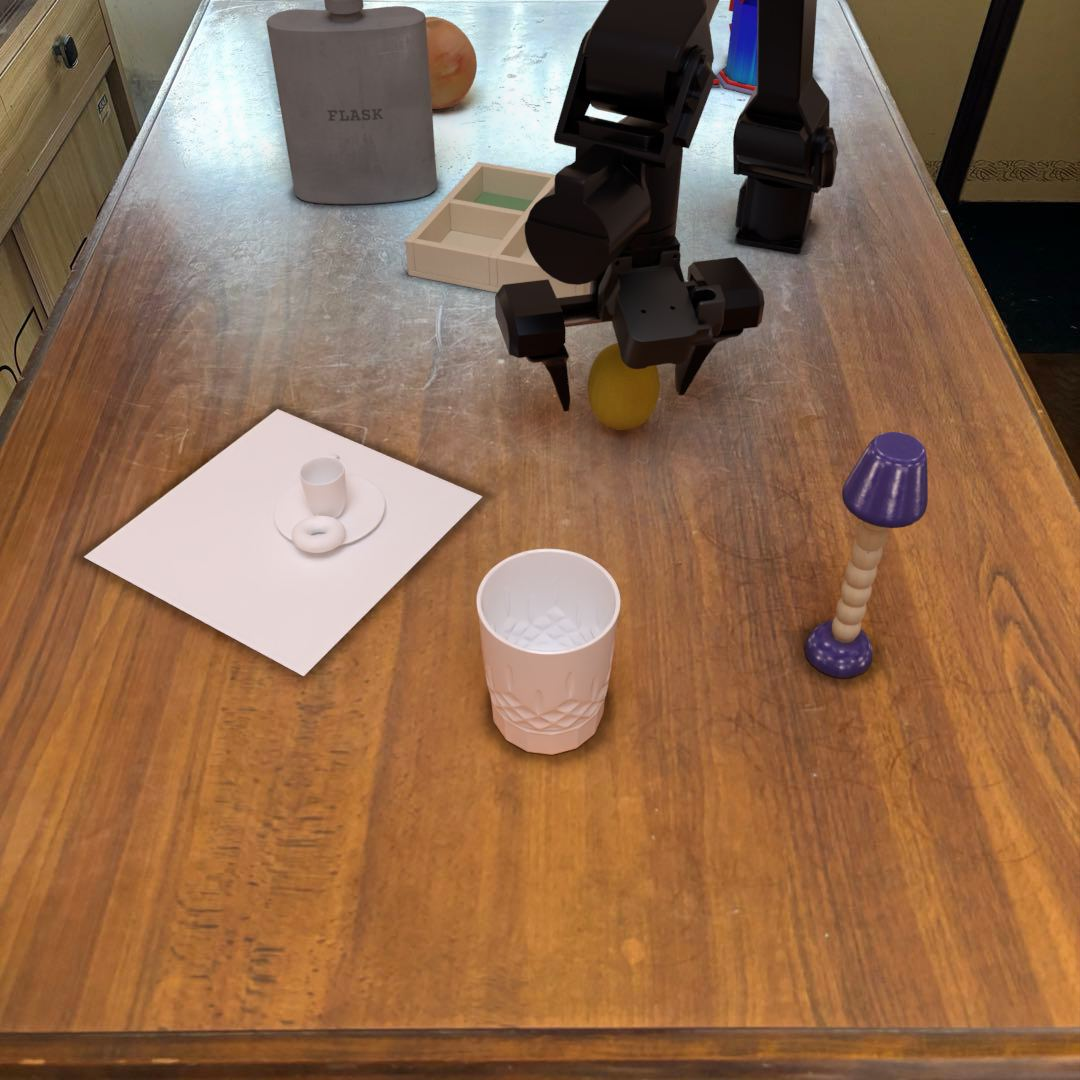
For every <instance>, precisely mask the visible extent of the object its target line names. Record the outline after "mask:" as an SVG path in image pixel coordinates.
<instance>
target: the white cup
mask: <svg viewBox="0 0 1080 1080" xmlns="http://www.w3.org/2000/svg"><path fill="white" fill-rule="evenodd" d="M475 602H476V611H477V620H478V626H479V628H478V629H479V636H480V644H481V645H480V647H481V655H482V660H483V661H482V662H483V666H484V675H485V680H486V687H487V690H488V691H489V695H490V702H491V708H492V709H491V711H492V719H493V723H494V724H495V726H496V727H497V729H498V731H499V732H500V733H501V735H502V736H503V737H504V739H505V740H506V741H507V742H509V743H511V744H513V745H515V747H518V748H519V749H521V750H523V751H525V752H527V753H534V754H542V755H550V756H551V755H556V754H557V755H558V754H561V753H565V752H568V751H572V750H575V749H576V750H577V749H578V748H580V746H582V745H583V744H584V743H585V742H587V741H588V740H589V739H590V738H592V737H593V736H594V735H595V734H596V731H597V730H598V727H599V725H600V722H601V721H602V718H603V715H604V709H605V702H606V697H607V694H608V693H607V692H608V689H609V683H610V678H611V670H612V665H613V662H614V661H613V660H614V655H615V654H614V652H615V646H616V640H617V633H618V632H617V631H618V626H619V619H620V612H621V594H620V589H619V587H618V585H617V583H616V581H615V579H614V577H613V576H612V575H611V573H610V572H609V571H608V570H607V569H606V568H605V567H603V566H602V565H601V564H599V563H598V562H597V561H596V560H594V559H592V558H590V557H588V556H586V555H584V554H581V553H578V552H575V551H571V550H566V549H560V548H535V549H530V550H525V551H522V552H518V553H515V554H512V555H510V556H507V558H504V559H503V560H501V561H499V562H498V563H497V564H495V565H494V566H493V567H492V568H490V570H489V571H488V572H487V573H486V574H485V576H484V577H483V579H482V580H481V582H480V584H479V586H478V589H477V593H476V601H475Z"/></svg>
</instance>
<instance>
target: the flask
mask: <svg viewBox="0 0 1080 1080" xmlns="http://www.w3.org/2000/svg"><path fill="white" fill-rule="evenodd" d="M323 3H324V9H299V8H296V9H286V10H281V11H278V12H276V13H274V14H271V16H269V17H268V18H267V19H266V22H265V23H266V28H267V35H268V40H269V47H270V52H271V53H270V54H271V58H272V59H271V60H272V64H273V70H274V71H273V72H274V77H275V83H276V89H277V95H278V101H279V108H280V113H281V114H280V115H281V120H282V125H283V131H284V137H285V144H286V150H287V156H288V162H289V167H290V175H291V181H292V187H293V192H294V196H295V197H297V198H299V199H300V200H302V201H304V202H307V203H312V204H319V205H320V204H322V205H344V206H345V205H373V204H387V203H388V204H389V203H395V202H404V201H411V200H416V199H421V198H424V197H426V196H430V195H431V194H432V193H433V192H434V191H436V189H437V187H438V176H437V175H438V174H437V162H436V147H435V146H436V145H435V133H434V118H433V109H432V102H431V88H430V73H429V59H428V44H427V30H426V17H427V16H426V14H425V13H424V12H423V11H421V10H419V9H418V8H415V7H412V6H411V7H410V6H406V5H393V6H384V7H373V8H364V0H323Z"/></svg>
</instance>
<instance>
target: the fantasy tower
mask: <svg viewBox="0 0 1080 1080" xmlns="http://www.w3.org/2000/svg"><path fill="white" fill-rule="evenodd" d="M728 11H729V12H732V15H731V23H728V26H729V39H728V40H729V41H728V48H727V49H728V50H727V59H726V66H725V67H724V68H721V70H719V72H717V73H716V74H715V73H714V81H713V85H712V88H714V89H717V88H721V86H722V88H723V89H725V90H730V91H734V92H737V93H741V94H742V93H743V94H745V95H749V96H751V95H752V93H753V92H754V90H755V88H756V86H757V0H729V5H728ZM712 88H711V89H712Z"/></svg>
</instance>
